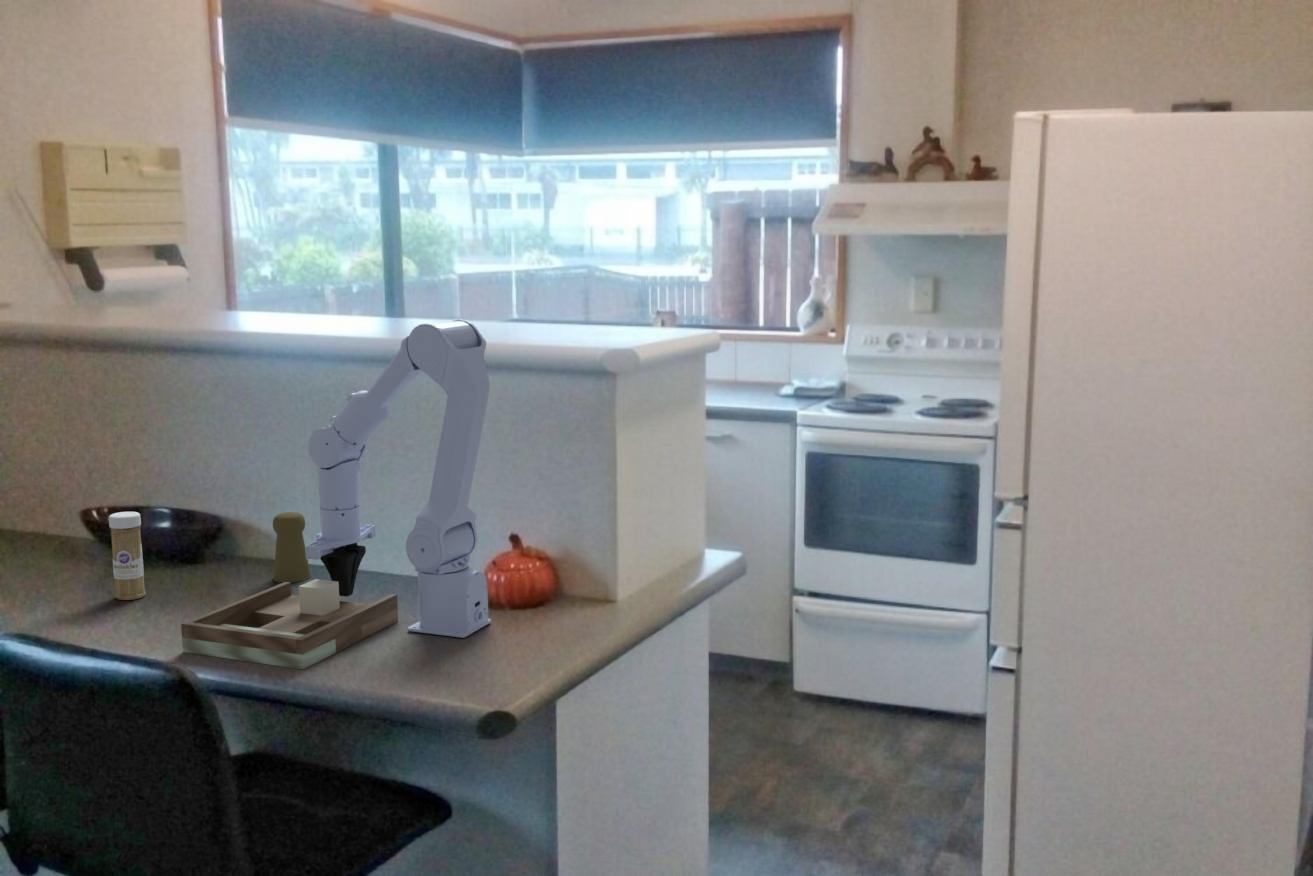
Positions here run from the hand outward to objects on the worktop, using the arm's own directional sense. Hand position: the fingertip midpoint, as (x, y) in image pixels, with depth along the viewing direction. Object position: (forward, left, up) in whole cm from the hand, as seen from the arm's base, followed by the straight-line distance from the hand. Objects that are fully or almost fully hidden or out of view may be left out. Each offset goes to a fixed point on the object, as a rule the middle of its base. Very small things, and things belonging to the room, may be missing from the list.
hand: (344, 594), depth 186 cm
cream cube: (0, +6, -1) cm, 6 cm away
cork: (+20, -13, -3) cm, 24 cm away
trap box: (0, +12, -3) cm, 12 cm away
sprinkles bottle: (+37, +5, -3) cm, 37 cm away
